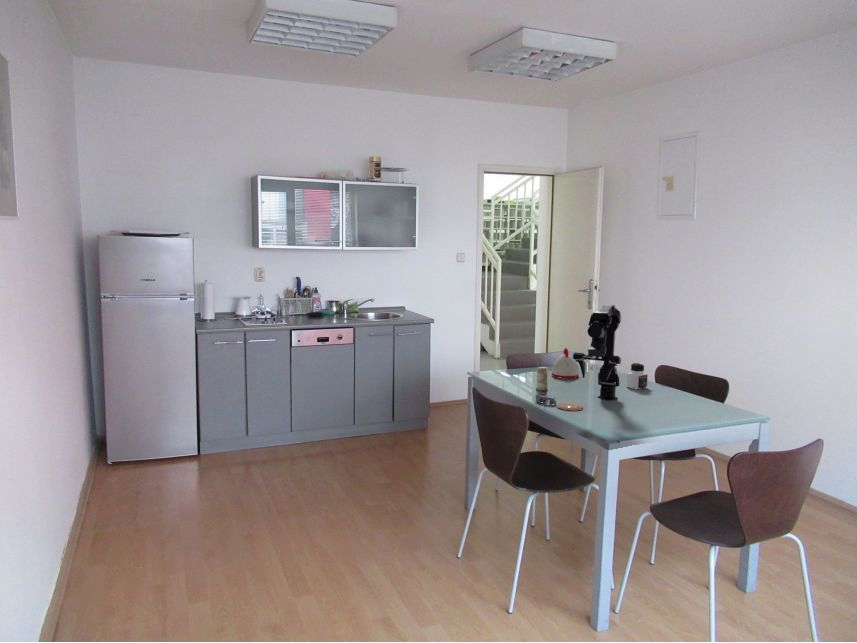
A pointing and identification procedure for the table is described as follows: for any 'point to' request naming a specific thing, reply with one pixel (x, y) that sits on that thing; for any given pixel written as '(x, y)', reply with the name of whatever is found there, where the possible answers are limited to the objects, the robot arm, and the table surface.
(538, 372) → the birch ring post
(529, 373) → the table surface
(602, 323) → the robot arm
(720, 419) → the table surface
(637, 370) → the medicine bottle
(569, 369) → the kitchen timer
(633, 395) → the table surface
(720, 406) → the table surface
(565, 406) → the terracotta coaster
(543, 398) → the grey angled bracket
